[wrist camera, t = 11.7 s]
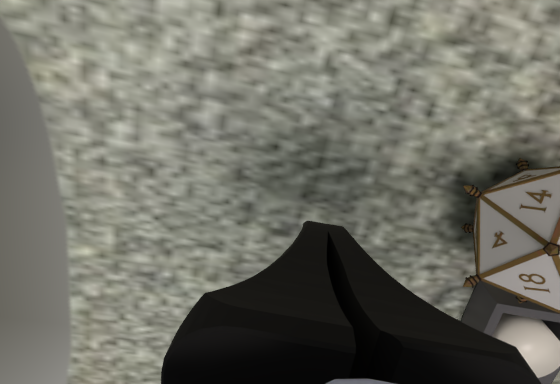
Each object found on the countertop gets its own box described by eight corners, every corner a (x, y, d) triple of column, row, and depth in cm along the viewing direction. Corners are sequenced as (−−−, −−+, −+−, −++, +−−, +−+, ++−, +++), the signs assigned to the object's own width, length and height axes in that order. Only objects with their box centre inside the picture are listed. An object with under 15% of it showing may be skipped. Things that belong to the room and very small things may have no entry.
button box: (528, 355, 26) (550, 385, 23) (451, 342, 26) (465, 370, 23) (562, 293, 23) (590, 319, 21) (478, 278, 24) (496, 303, 21)
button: (523, 346, 25) (549, 383, 22) (472, 337, 25) (492, 373, 22) (544, 306, 23) (576, 340, 21) (490, 297, 24) (514, 329, 21)
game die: (453, 182, 25) (411, 179, 17) (607, 134, 20) (649, 99, 12) (498, 308, 24) (475, 370, 16) (677, 289, 19) (778, 366, 11)
